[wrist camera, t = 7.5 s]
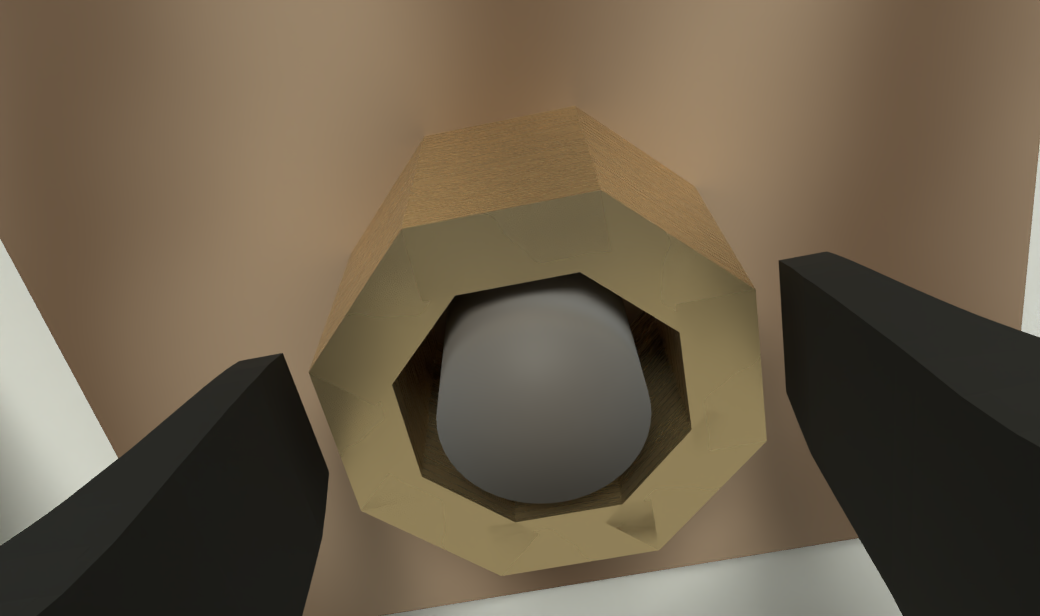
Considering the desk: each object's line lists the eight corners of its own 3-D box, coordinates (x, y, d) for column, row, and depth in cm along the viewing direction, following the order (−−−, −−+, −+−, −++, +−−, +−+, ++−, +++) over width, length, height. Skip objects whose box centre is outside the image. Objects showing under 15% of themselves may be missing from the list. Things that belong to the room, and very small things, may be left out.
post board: (1042, -361, 11) (1417, -504, 6) (977, 481, 17) (1139, 695, 13) (-124, -89, 12) (-485, -53, 8) (230, 604, 19) (148, 839, 14)
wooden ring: (683, 83, 12) (745, 160, 9) (716, 390, 15) (773, 530, 12) (319, 157, 13) (264, 255, 10) (413, 444, 15) (392, 594, 12)
